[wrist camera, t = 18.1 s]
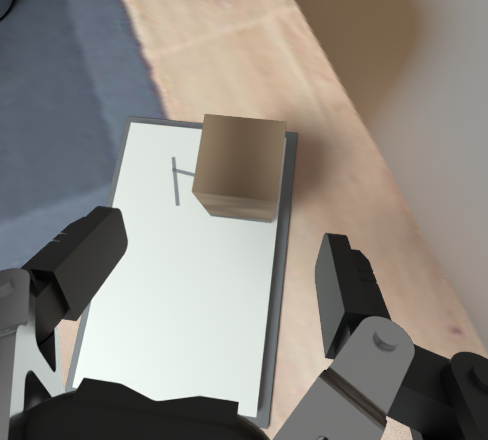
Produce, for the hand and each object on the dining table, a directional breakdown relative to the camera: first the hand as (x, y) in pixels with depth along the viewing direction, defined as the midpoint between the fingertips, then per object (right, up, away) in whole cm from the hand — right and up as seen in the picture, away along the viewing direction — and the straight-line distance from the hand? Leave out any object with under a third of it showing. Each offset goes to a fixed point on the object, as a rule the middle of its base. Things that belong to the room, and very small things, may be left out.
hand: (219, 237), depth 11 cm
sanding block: (+1, +3, +12) cm, 13 cm away
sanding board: (-4, -2, +12) cm, 13 cm away
